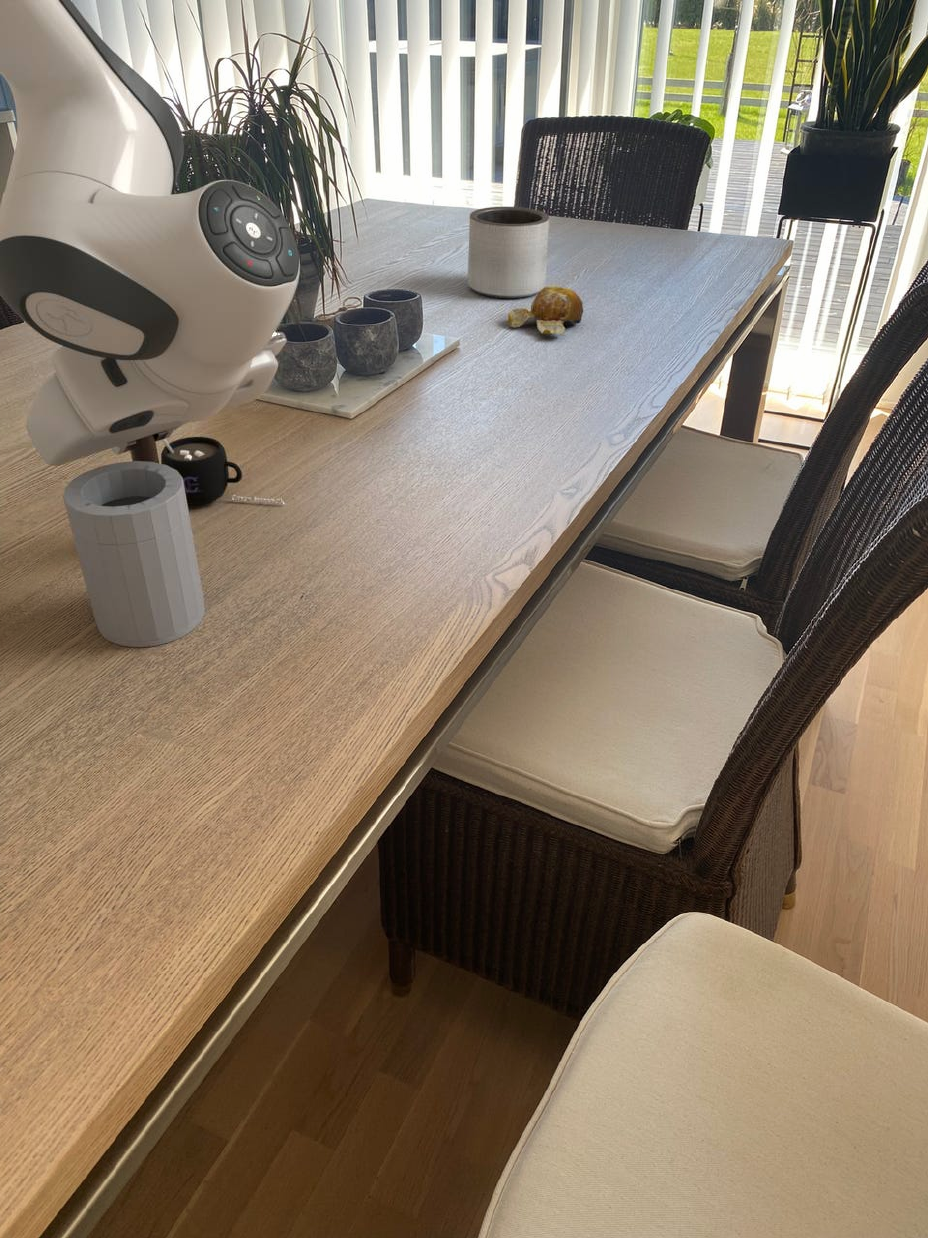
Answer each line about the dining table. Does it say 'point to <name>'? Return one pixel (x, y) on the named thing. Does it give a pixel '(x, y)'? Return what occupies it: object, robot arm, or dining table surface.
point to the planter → (507, 251)
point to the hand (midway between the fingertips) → (137, 438)
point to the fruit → (550, 310)
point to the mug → (202, 468)
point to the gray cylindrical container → (136, 552)
